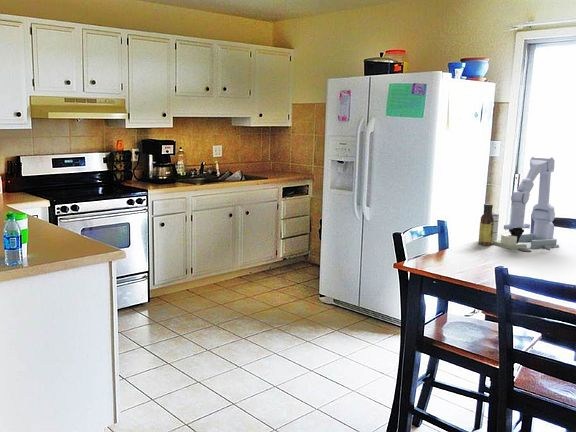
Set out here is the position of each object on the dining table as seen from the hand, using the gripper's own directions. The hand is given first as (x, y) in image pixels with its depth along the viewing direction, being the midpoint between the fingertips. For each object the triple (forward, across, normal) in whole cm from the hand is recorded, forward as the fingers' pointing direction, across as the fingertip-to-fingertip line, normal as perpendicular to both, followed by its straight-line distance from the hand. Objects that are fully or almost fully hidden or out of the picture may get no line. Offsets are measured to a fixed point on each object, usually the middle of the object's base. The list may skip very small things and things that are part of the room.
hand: (515, 243), depth 267 cm
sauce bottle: (+1, -14, +5) cm, 15 cm away
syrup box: (+1, -6, +11) cm, 13 cm away
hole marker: (+1, -4, -10) cm, 11 cm away
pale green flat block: (+1, -3, 0) cm, 3 cm away
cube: (+1, -4, 0) cm, 4 cm away
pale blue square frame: (+1, +12, 0) cm, 12 cm away
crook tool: (+1, +14, -10) cm, 17 cm away
